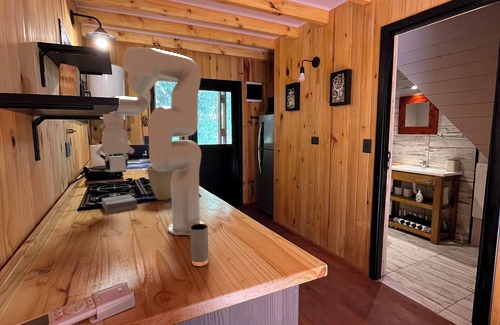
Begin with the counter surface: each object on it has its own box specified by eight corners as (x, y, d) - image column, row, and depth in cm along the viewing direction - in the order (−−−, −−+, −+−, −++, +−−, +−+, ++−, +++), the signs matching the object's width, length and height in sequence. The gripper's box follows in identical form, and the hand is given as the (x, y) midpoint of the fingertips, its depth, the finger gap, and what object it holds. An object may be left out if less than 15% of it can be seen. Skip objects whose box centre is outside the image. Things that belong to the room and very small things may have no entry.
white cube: (126, 170, 118) (125, 157, 118) (110, 172, 115) (109, 158, 114) (122, 168, 123) (121, 155, 122) (108, 170, 120) (107, 156, 119)
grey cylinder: (192, 268, 71) (191, 230, 69) (190, 259, 75) (189, 224, 73) (209, 265, 72) (208, 228, 70) (207, 257, 76) (206, 222, 75)
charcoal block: (137, 208, 121) (136, 199, 120) (107, 214, 113) (106, 204, 113) (130, 202, 130) (129, 194, 129) (102, 206, 123) (101, 198, 122)
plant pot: (147, 196, 139) (145, 165, 137) (176, 192, 146) (175, 163, 143) (149, 203, 126) (147, 170, 124) (182, 200, 132) (180, 168, 130)
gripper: (92, 127, 108) (96, 172, 111) (137, 127, 118) (139, 168, 121) (89, 127, 114) (93, 169, 117) (132, 127, 124) (135, 165, 127)
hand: (116, 168), depth 119 cm, fingers closed on white cube, 6 cm apart
